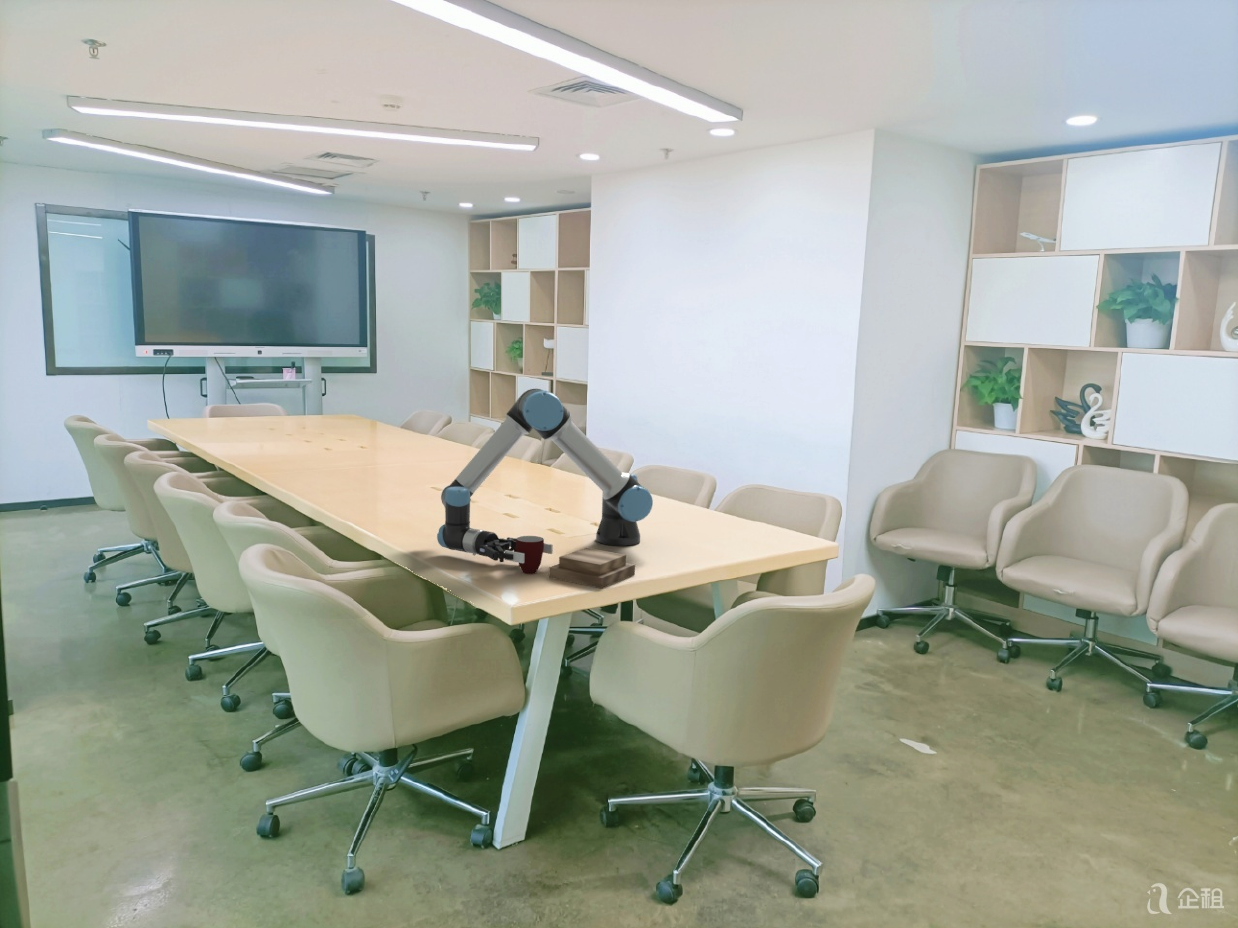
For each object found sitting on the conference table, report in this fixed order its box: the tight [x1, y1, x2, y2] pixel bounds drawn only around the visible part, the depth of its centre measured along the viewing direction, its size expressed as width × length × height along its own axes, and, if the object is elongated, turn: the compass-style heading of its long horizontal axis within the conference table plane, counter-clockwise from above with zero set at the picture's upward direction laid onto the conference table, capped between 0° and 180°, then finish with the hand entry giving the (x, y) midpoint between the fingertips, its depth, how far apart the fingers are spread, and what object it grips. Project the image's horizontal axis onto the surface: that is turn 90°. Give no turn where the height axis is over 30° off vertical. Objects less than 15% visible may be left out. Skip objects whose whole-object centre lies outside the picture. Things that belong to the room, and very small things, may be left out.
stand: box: [548, 547, 636, 589], centre depth 251 cm, size 18×18×6 cm
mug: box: [513, 535, 545, 575], centre depth 253 cm, size 10×8×10 cm
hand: (538, 553), depth 251 cm, fingers open, 13 cm apart
